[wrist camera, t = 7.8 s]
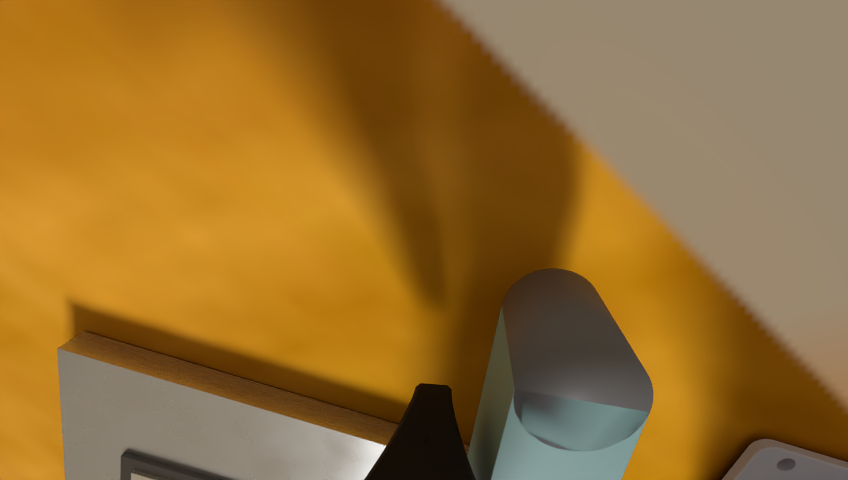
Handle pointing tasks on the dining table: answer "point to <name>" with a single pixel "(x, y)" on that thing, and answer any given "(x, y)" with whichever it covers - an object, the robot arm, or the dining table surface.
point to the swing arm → (558, 387)
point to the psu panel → (199, 422)
